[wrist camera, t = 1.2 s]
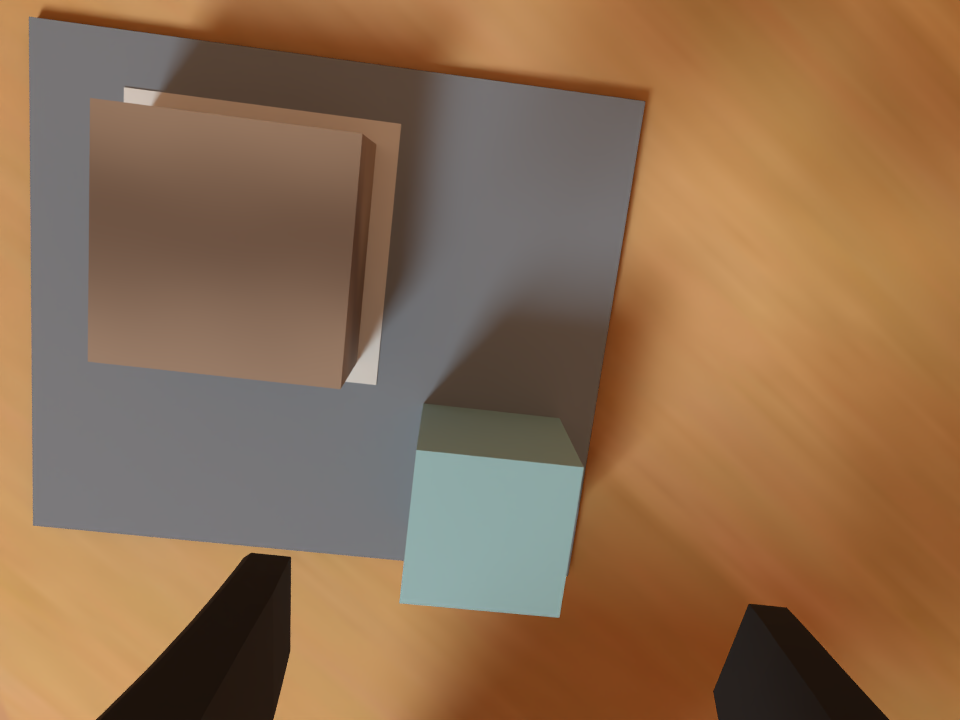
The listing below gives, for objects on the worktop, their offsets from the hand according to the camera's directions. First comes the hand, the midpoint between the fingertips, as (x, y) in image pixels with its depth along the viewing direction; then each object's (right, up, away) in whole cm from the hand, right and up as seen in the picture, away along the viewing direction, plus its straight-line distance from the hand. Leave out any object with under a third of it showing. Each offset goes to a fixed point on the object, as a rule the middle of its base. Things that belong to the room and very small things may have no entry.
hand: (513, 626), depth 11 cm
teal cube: (0, +1, +10) cm, 10 cm away
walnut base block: (-7, +7, +8) cm, 13 cm away
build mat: (-5, +5, +9) cm, 12 cm away
